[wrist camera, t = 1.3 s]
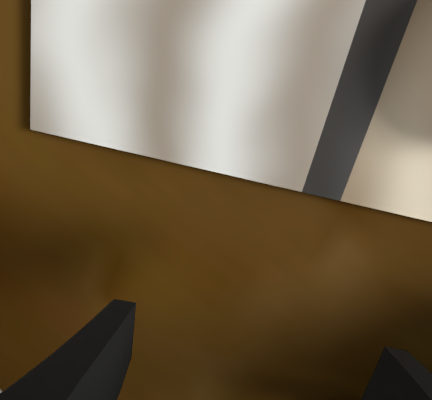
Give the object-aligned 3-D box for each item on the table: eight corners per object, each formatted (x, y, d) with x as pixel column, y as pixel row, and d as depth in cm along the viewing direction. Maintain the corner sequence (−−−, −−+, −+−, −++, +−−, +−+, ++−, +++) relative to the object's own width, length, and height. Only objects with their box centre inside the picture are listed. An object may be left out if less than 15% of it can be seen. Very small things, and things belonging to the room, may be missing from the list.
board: (890, -119, 12) (946, -136, 11) (605, 256, 17) (626, 266, 16) (50, -322, 11) (33, -358, 10) (41, 126, 17) (30, 129, 16)
